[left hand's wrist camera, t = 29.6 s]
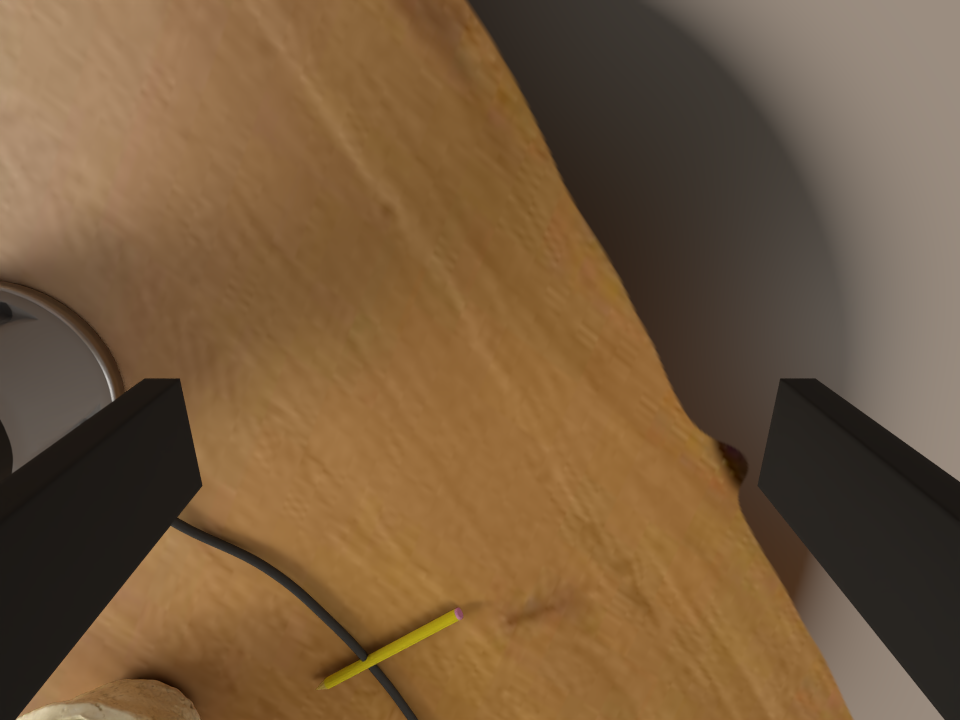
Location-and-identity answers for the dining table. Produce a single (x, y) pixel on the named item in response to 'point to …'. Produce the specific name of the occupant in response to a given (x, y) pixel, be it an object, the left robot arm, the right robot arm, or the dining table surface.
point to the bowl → (122, 704)
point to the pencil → (392, 648)
